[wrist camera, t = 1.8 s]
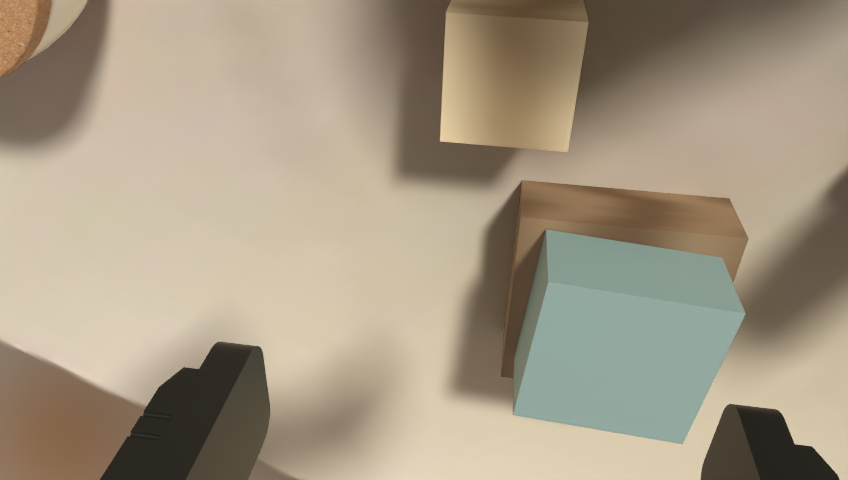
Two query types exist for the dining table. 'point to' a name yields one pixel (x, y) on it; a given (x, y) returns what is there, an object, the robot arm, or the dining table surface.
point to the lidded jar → (32, 28)
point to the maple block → (512, 72)
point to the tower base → (613, 233)
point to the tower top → (623, 336)
